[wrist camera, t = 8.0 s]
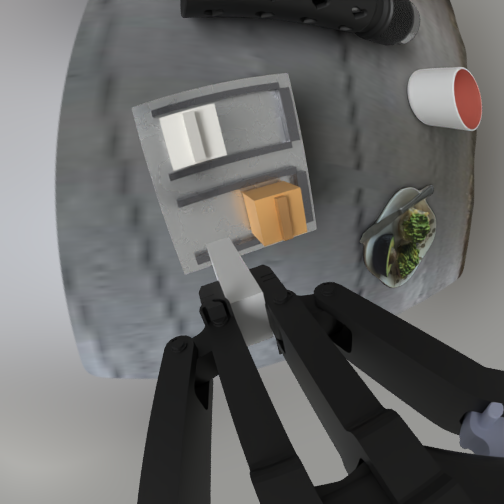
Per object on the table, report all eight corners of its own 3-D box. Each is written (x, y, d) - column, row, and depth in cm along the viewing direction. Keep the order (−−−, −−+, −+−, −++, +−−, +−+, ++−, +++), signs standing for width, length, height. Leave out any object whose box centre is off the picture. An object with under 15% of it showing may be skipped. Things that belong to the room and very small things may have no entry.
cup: (400, 112, 35) (450, 115, 26) (405, 59, 32) (453, 55, 23) (435, 132, 38) (479, 140, 30) (439, 84, 35) (483, 86, 26)
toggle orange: (283, 180, 25) (303, 188, 22) (290, 220, 27) (310, 234, 23) (242, 192, 25) (256, 202, 21) (252, 232, 26) (267, 249, 23)
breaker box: (259, 86, 29) (292, 70, 21) (286, 209, 36) (321, 232, 28) (140, 115, 26) (130, 106, 18) (179, 244, 33) (185, 279, 25)
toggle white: (207, 108, 21) (215, 102, 17) (218, 152, 23) (228, 155, 19) (160, 121, 20) (158, 117, 16) (172, 166, 22) (173, 171, 18)
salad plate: (405, 153, 38) (426, 157, 34) (443, 214, 47) (459, 221, 43) (342, 249, 41) (360, 261, 37) (392, 292, 50) (407, 304, 46)
